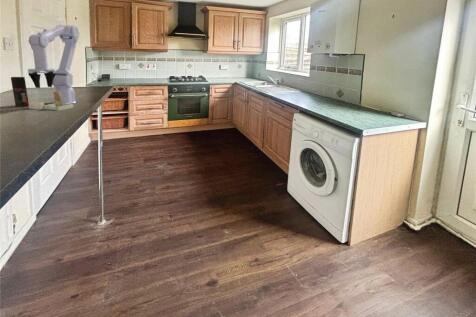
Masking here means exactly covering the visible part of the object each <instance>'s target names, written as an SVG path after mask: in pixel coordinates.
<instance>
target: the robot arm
mask: <svg viewBox="0 0 476 317" xmlns="http://www.w3.org/2000/svg"><path fill="white" fill-rule="evenodd" d="M58 36H59V38H60V40H61V41H62V43H64V47H63V51H62V54H61V59H60V62H59V67H58V69H56V70H55V68H49V65H48V56H47V48H46V47H48V44H50V43H51V42H53V41H55V39H56V37H58ZM79 36H80V32H79V29H78V27H77V26H76V25H74V24H73V25H71V24H70V25H69V24H68V25H67V24H58V25H56V26H55V27H54V28H52V29H47V28H44V29H43V31H41V32H40V31H39V32H37V33H36V34H31V35H30V36H29V37H28V43H29V45H30V50H32V53H33V54H32V55H33V56H32V57H33V62H34V68H28V69H27V74H28V76H29V78H30V79H31V81H32V82H33V84H34V87H35V88H36V89H41V82H40V81H41V74H44V77H45V80H46V85H47V88H52V87H53V88H55V92H60V94H61V102H62V103H67V104H77V101H76V93H75V90H74V87H72V86H73V82H74V81H73V80H74V79H73V77H74V76H73V74H72V73H71V72H70V71H71V67H72V62H73V59H74V56H75V51H76V47H77V43H78V40H79ZM40 73H41V74H40ZM53 104H55V101H54V102H53Z"/></svg>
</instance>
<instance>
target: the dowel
mask: <svg viewBox="0 0 476 317" xmlns="http://www.w3.org/2000/svg"><path fill="white" fill-rule="evenodd" d="M53 98H54V102H55V103H54V104H55V106H56V107H60V106H62V102H61V94H60V92H56V91H53Z"/></svg>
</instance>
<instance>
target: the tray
mask: <svg viewBox="0 0 476 317" xmlns="http://www.w3.org/2000/svg"><path fill="white" fill-rule="evenodd" d="M71 108H75V103H68V104H67V103H62V106H60V107H56V106H55V103H49V104H44V106H43V108H42V109H43V110H51V111H63V110H68V109H71Z"/></svg>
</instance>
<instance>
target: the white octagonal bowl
mask: <svg viewBox="0 0 476 317" xmlns="http://www.w3.org/2000/svg"><path fill="white" fill-rule="evenodd" d="M28 102H29V106H28V108H29V110H40V109H43V106H44V105H45V103H44V101H31V102H30V101H28Z"/></svg>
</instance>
